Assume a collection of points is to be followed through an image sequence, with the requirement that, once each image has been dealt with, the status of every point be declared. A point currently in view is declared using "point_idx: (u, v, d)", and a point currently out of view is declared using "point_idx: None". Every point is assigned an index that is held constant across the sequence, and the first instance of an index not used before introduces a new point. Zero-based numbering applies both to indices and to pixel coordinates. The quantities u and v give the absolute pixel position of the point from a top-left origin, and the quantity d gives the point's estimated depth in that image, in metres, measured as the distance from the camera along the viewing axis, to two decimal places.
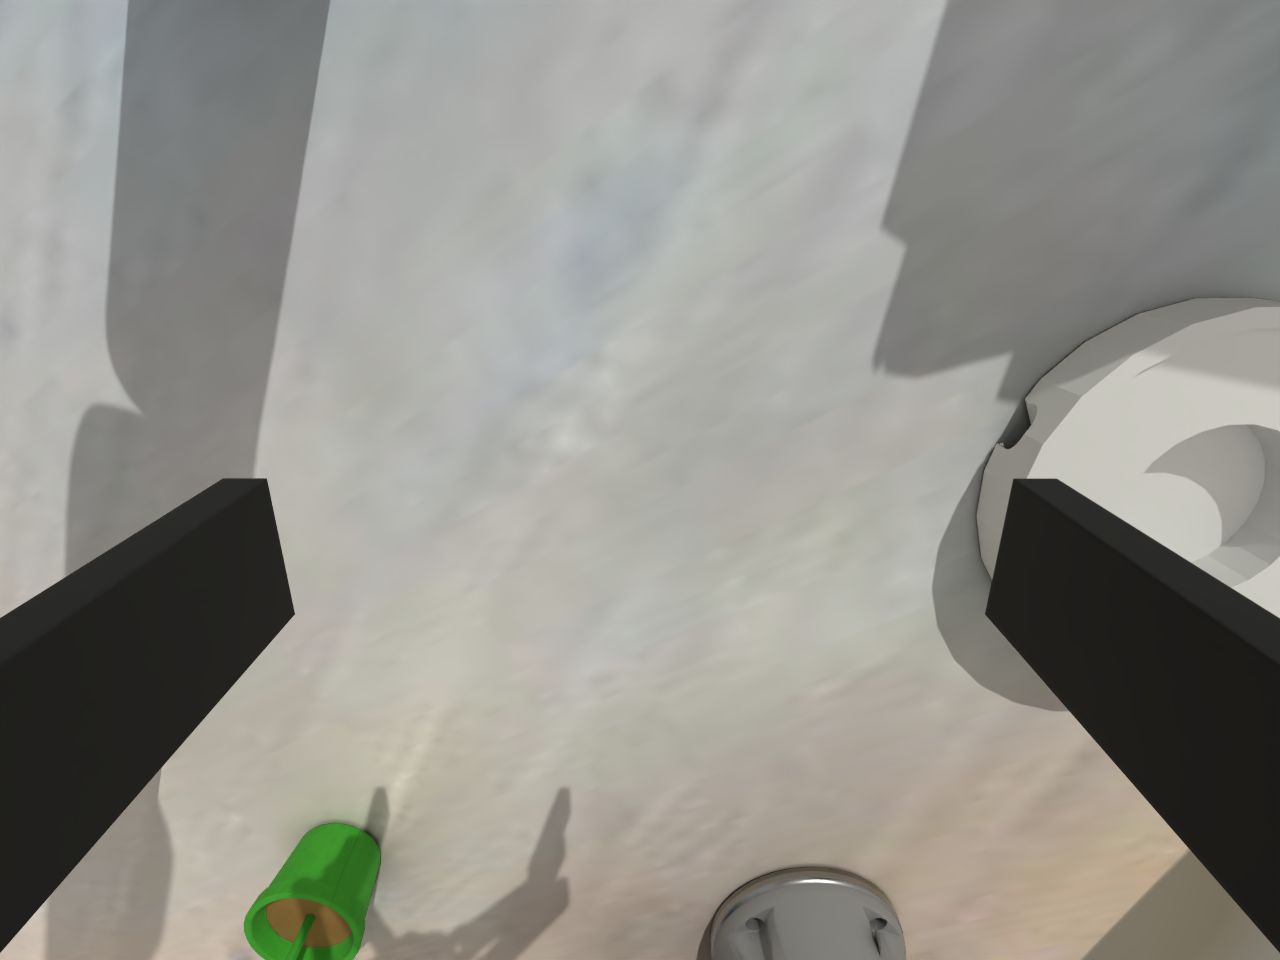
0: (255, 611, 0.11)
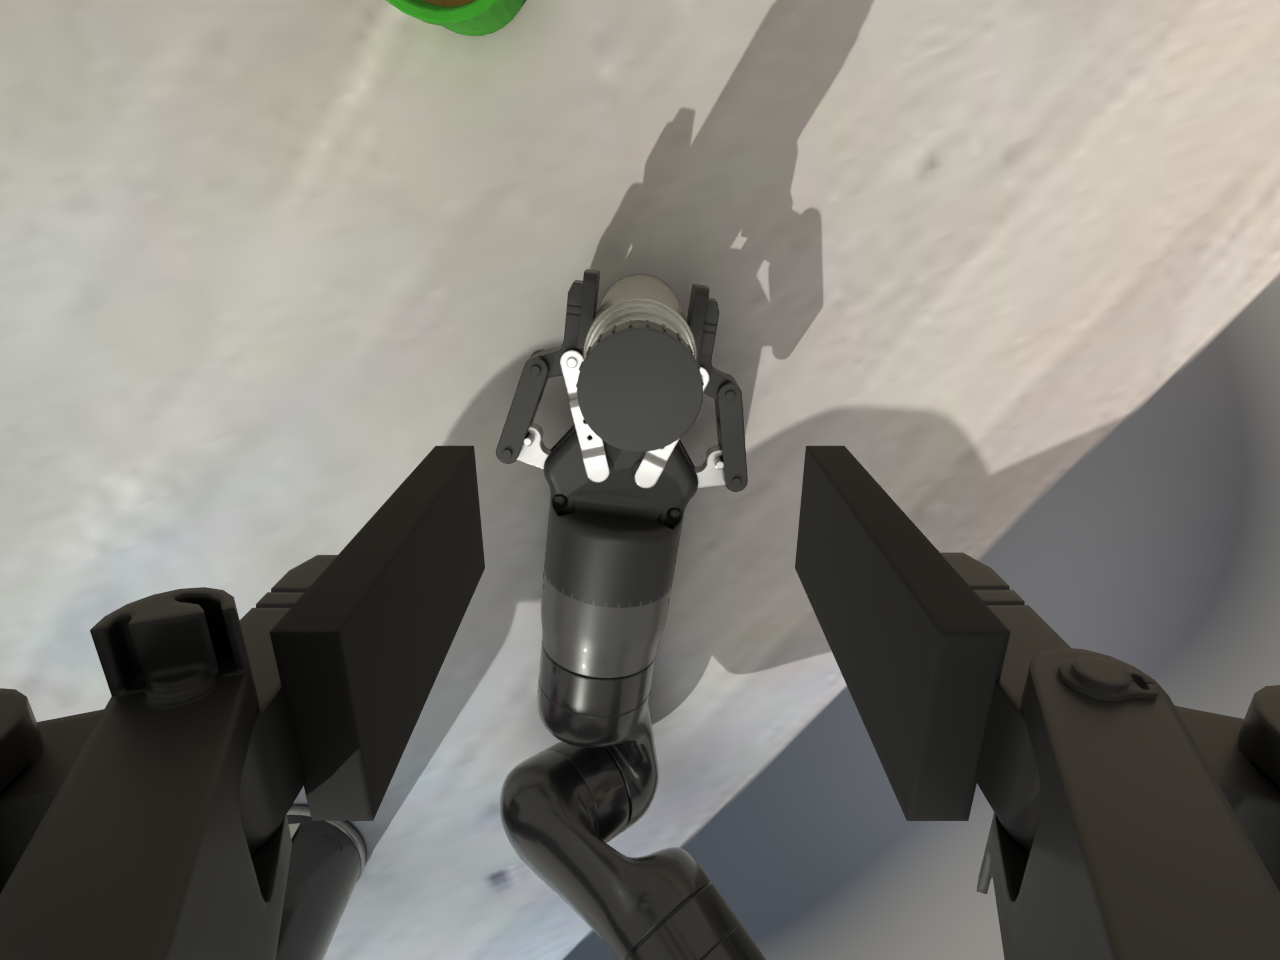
0: (469, 560, 0.13)
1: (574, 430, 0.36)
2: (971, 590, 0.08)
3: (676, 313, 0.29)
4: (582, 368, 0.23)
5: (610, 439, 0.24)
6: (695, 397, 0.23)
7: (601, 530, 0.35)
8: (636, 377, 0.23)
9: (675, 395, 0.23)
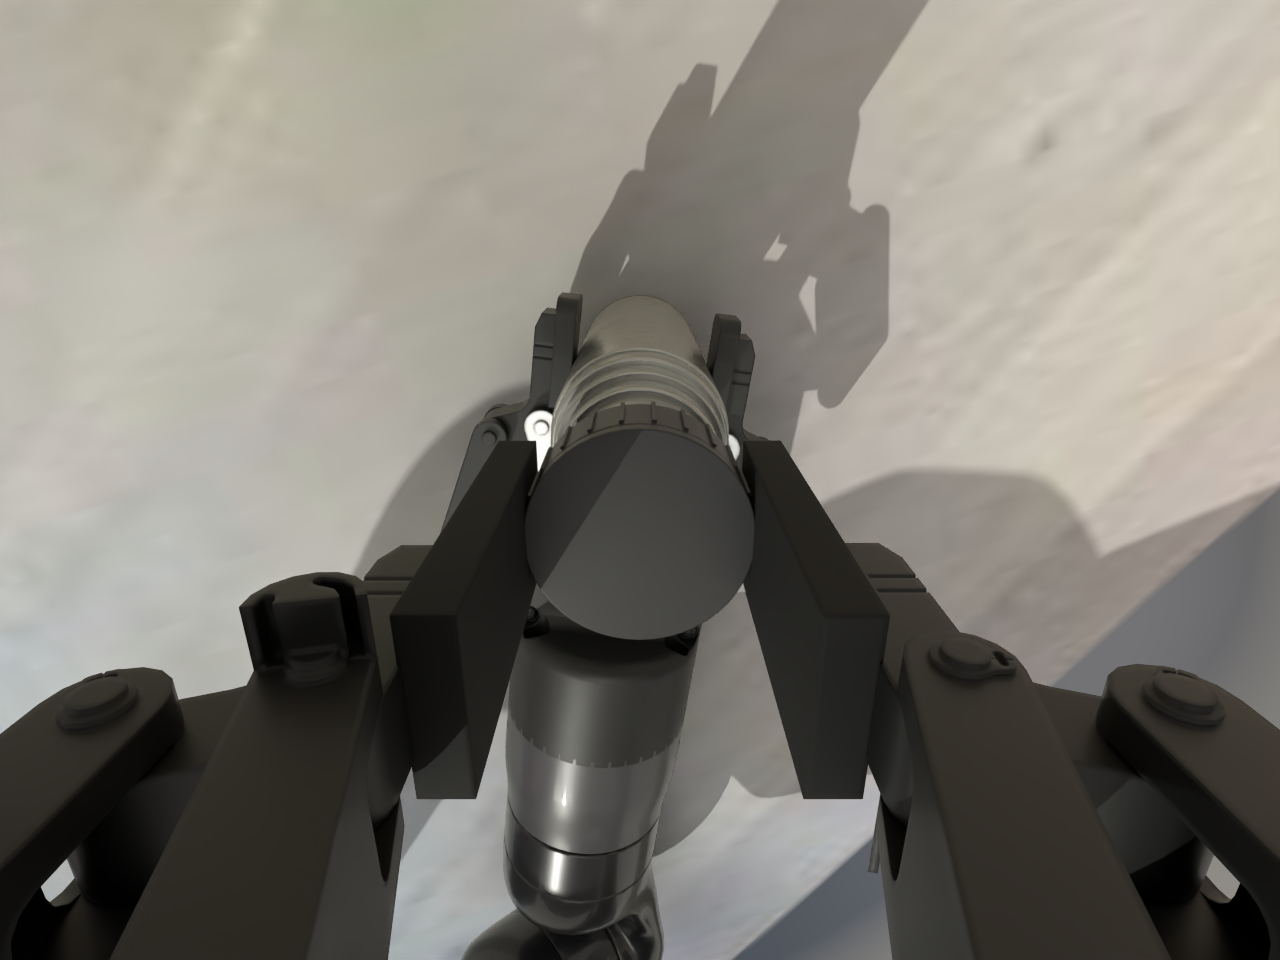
0: None
1: None
2: (864, 576, 0.09)
3: (698, 370, 0.18)
4: (532, 499, 0.12)
5: (586, 619, 0.13)
6: (742, 549, 0.13)
7: (585, 665, 0.25)
8: (633, 515, 0.12)
9: (705, 546, 0.13)
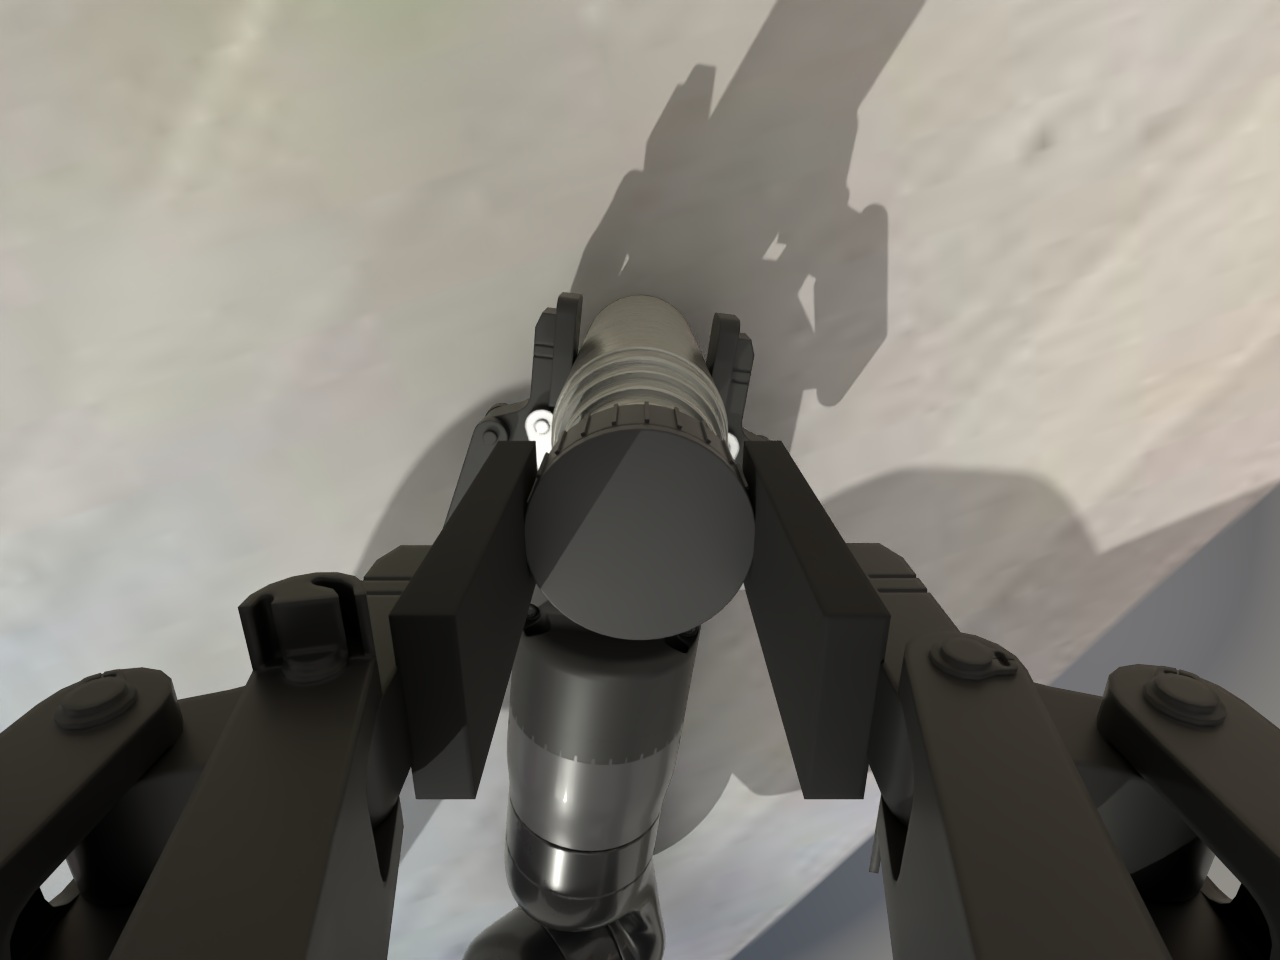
0: None
1: None
2: (865, 576, 0.09)
3: (697, 369, 0.18)
4: (696, 624, 0.13)
5: (740, 502, 0.12)
6: (558, 478, 0.12)
7: (585, 663, 0.25)
8: (628, 564, 0.13)
9: (588, 501, 0.12)
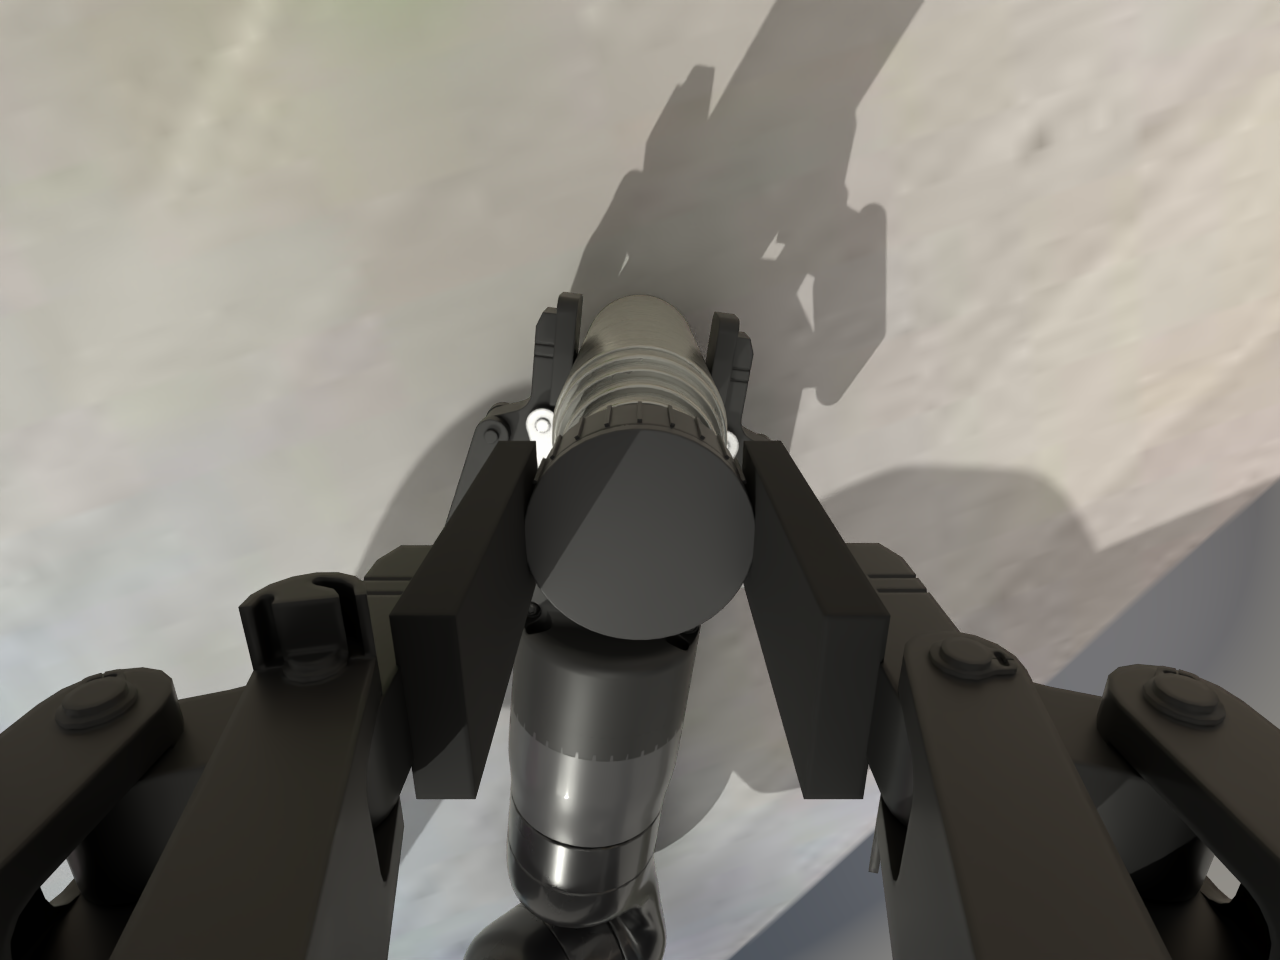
0: None
1: None
2: (864, 576, 0.09)
3: (696, 368, 0.18)
4: (648, 431, 0.12)
5: (533, 519, 0.12)
6: (662, 627, 0.13)
7: (586, 660, 0.25)
8: (664, 527, 0.12)
9: (654, 597, 0.13)
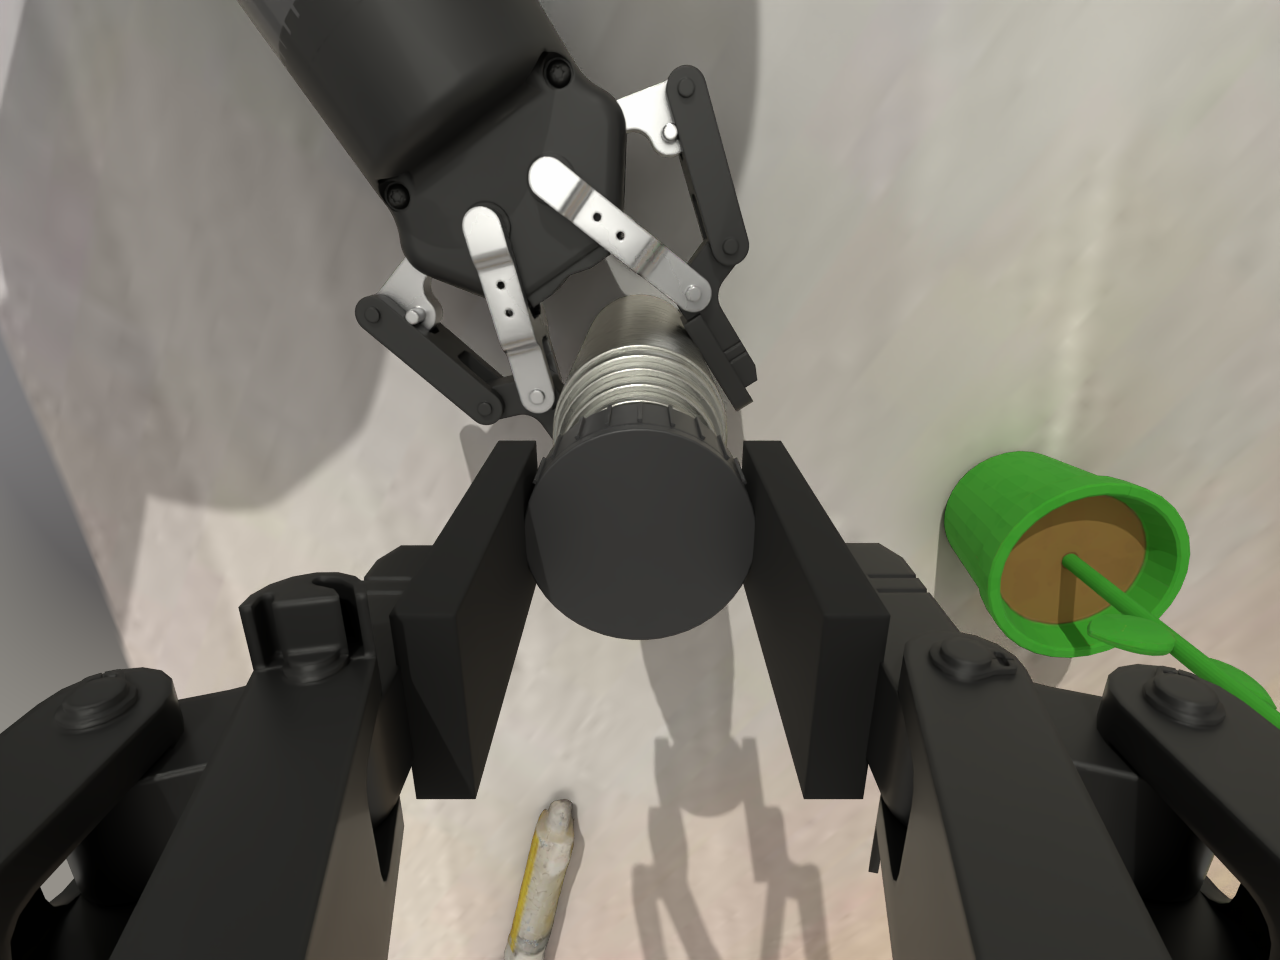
0: None
1: (621, 200, 0.22)
2: (864, 576, 0.09)
3: None
4: (649, 431, 0.12)
5: (533, 518, 0.12)
6: (662, 627, 0.13)
7: (468, 99, 0.19)
8: (664, 527, 0.12)
9: (654, 597, 0.13)
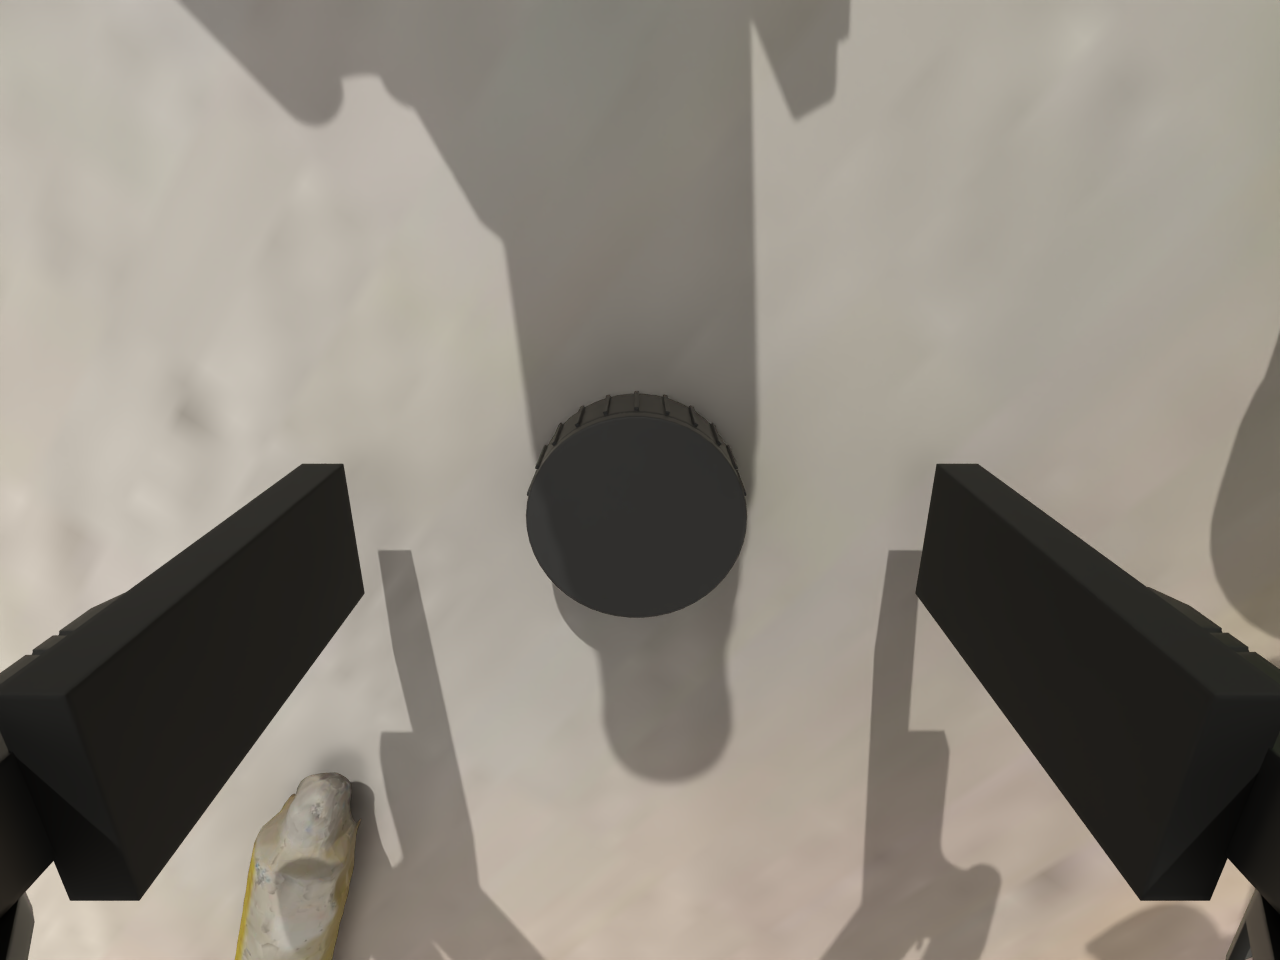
0: (334, 588, 0.12)
1: None
2: (1217, 640, 0.07)
3: None
4: (644, 419, 0.13)
5: (536, 502, 0.13)
6: (658, 606, 0.14)
7: None
8: (659, 510, 0.13)
9: (650, 576, 0.14)
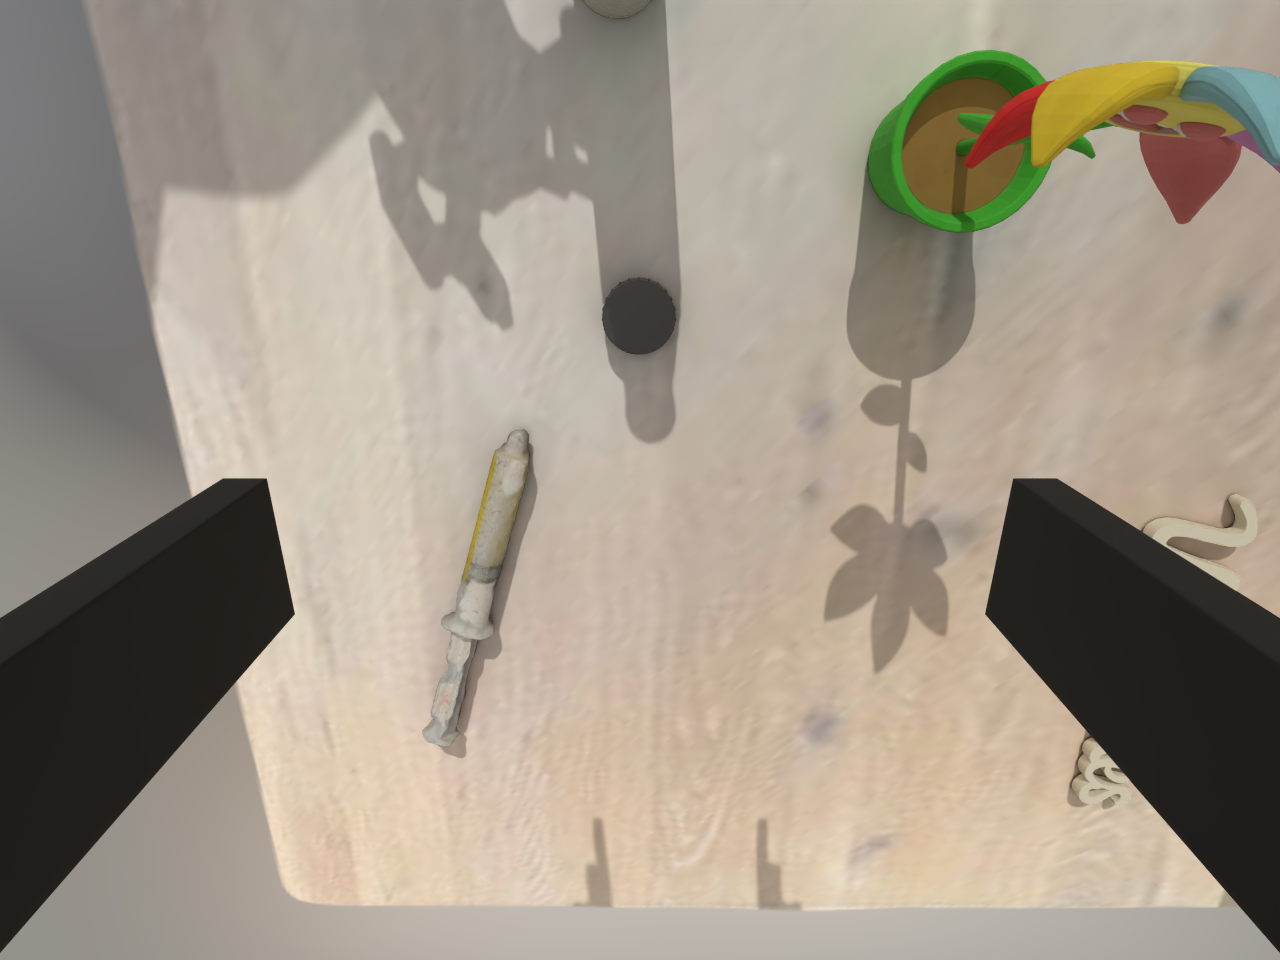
0: (255, 611, 0.11)
1: None
2: None
3: None
4: (641, 281, 0.40)
5: (606, 310, 0.40)
6: (646, 349, 0.41)
7: None
8: (646, 313, 0.40)
9: (643, 338, 0.41)
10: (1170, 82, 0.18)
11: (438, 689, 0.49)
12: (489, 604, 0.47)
